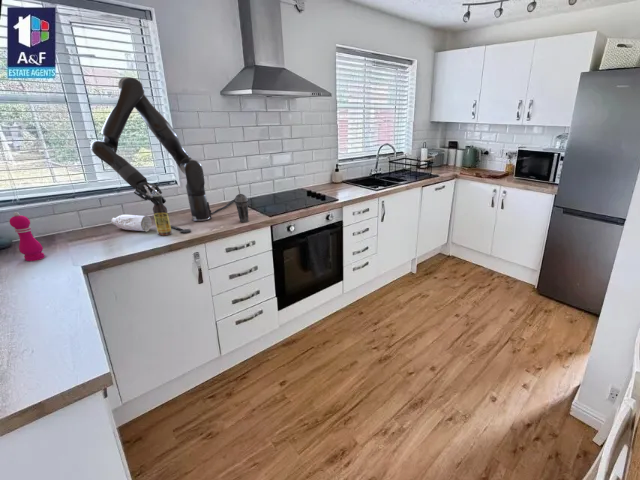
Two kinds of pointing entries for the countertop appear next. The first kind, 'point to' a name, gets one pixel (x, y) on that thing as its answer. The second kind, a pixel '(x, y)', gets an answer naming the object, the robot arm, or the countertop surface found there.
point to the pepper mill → (26, 238)
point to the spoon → (181, 230)
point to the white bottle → (133, 222)
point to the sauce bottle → (161, 217)
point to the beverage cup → (242, 207)
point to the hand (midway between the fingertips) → (161, 203)
